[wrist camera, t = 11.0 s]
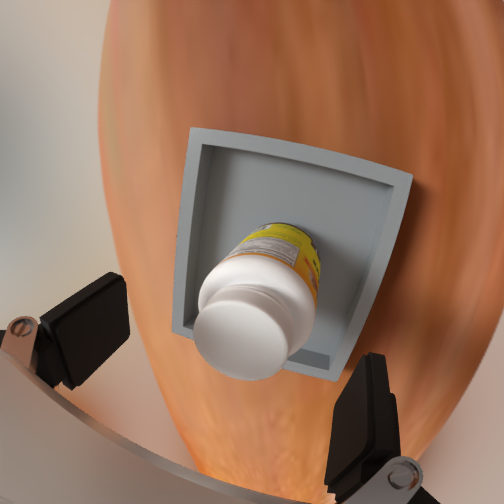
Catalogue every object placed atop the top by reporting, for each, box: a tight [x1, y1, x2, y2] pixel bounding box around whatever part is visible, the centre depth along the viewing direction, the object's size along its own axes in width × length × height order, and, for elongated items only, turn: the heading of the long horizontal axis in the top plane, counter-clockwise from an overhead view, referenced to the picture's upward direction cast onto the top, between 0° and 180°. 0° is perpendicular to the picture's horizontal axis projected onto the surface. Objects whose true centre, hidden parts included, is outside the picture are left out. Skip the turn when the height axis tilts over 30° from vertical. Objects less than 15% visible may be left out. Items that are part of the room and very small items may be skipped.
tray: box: [172, 127, 413, 382], centre depth 19 cm, size 16×14×2 cm
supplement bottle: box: [193, 222, 321, 381], centre depth 15 cm, size 6×6×10 cm
